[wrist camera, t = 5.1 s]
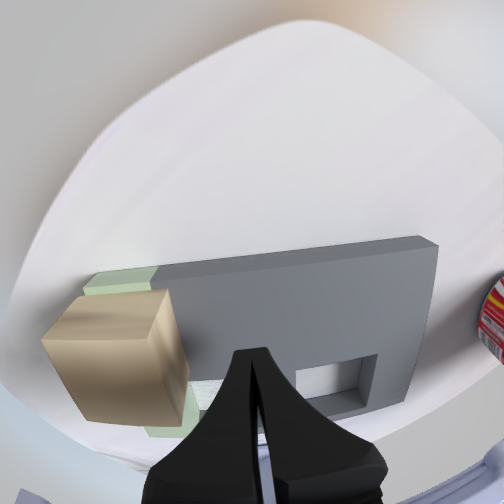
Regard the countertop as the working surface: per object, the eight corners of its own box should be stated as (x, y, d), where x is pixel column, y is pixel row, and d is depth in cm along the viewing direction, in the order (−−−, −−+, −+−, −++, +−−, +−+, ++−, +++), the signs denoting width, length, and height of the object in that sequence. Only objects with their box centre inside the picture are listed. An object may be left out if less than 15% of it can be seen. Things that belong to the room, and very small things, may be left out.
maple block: (189, 370, 15) (181, 427, 11) (108, 371, 14) (86, 420, 11) (167, 288, 13) (147, 338, 9) (78, 295, 13) (40, 339, 9)
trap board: (393, 384, 19) (403, 401, 17) (153, 417, 18) (149, 437, 17) (419, 235, 15) (438, 245, 13) (97, 272, 15) (82, 288, 13)
